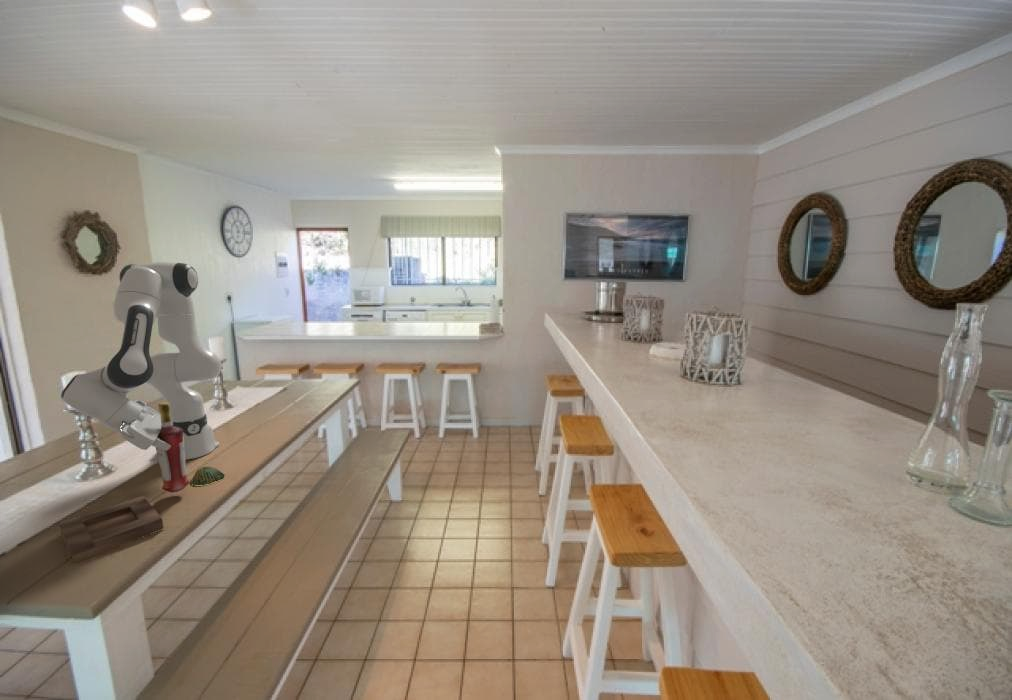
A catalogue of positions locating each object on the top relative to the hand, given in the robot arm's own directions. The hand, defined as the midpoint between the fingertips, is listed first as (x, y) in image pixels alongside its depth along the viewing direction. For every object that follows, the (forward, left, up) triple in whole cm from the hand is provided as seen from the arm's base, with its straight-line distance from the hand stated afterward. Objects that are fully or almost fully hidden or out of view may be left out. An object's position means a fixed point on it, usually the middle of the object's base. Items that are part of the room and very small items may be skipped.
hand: (172, 442), depth 137 cm
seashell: (-5, +9, -18) cm, 21 cm away
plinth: (+9, -18, -18) cm, 27 cm away
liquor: (-1, 0, -16) cm, 16 cm away
